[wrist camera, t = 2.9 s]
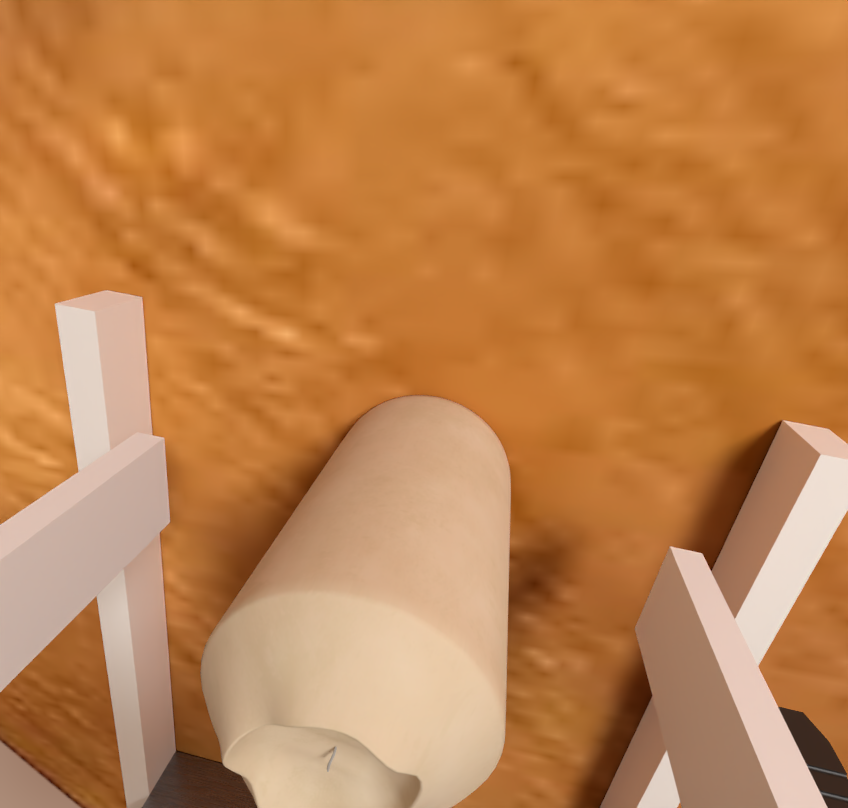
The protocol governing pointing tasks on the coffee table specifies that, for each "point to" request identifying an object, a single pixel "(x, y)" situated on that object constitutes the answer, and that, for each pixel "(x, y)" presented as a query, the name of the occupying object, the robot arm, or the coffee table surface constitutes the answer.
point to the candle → (375, 623)
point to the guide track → (144, 590)
